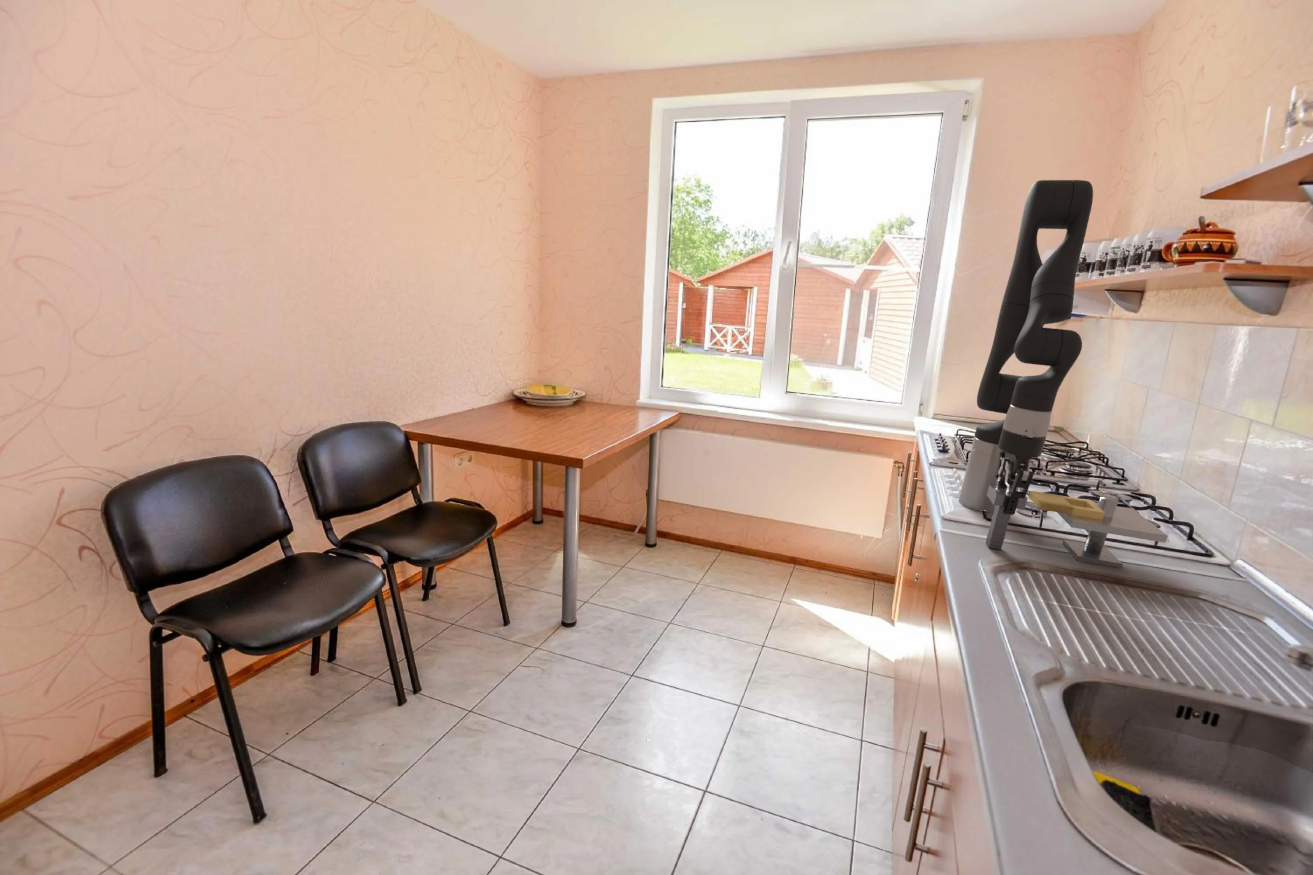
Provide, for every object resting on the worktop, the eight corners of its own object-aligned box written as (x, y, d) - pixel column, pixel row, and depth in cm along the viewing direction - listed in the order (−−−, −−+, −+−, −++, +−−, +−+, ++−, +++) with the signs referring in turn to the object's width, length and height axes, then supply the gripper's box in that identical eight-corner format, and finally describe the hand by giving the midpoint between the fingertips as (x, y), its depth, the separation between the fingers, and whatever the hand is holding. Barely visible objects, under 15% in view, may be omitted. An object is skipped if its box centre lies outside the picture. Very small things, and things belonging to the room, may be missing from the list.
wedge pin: (975, 537, 127) (989, 484, 123) (1004, 542, 125) (1019, 488, 122) (982, 549, 121) (996, 493, 118) (1011, 554, 120) (1027, 498, 116)
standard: (1119, 548, 128) (1137, 493, 124) (1151, 579, 115) (1174, 519, 111) (1037, 534, 131) (1053, 480, 128) (1060, 563, 118) (1078, 504, 115)
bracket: (1088, 506, 124) (1090, 500, 124) (1102, 519, 117) (1104, 512, 117) (1028, 497, 127) (1030, 490, 126) (1039, 509, 120) (1041, 502, 120)
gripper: (994, 418, 123) (975, 492, 128) (1014, 436, 110) (992, 518, 115) (1034, 423, 122) (1013, 498, 126) (1059, 442, 108) (1035, 525, 113)
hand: (1003, 507), depth 121 cm, fingers closed on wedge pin, 5 cm apart
